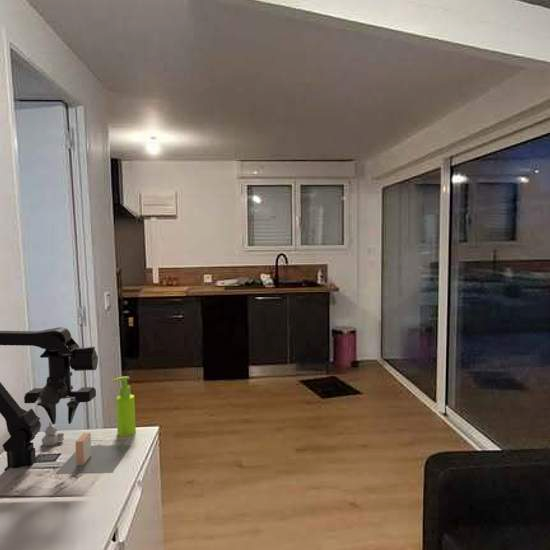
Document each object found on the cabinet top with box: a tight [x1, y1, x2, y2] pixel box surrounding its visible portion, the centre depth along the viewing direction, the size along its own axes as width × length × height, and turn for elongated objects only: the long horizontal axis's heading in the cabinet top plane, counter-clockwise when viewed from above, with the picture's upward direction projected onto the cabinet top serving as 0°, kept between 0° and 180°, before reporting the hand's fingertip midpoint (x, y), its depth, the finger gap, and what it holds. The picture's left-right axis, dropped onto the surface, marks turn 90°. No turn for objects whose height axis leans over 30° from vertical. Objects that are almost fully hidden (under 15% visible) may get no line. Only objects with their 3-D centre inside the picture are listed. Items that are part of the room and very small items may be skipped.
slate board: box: [54, 444, 132, 475], centre depth 139 cm, size 16×18×1 cm
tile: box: [75, 432, 92, 465], centre depth 138 cm, size 2×6×7 cm, turn 1°
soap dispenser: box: [112, 375, 137, 437], centre depth 158 cm, size 6×7×20 cm
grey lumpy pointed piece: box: [41, 421, 65, 447], centre depth 151 cm, size 5×7×8 cm
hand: (62, 423), depth 137 cm, fingers open, 4 cm apart
